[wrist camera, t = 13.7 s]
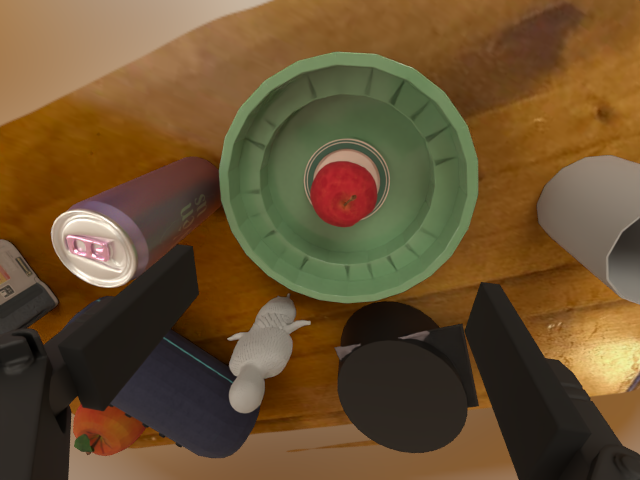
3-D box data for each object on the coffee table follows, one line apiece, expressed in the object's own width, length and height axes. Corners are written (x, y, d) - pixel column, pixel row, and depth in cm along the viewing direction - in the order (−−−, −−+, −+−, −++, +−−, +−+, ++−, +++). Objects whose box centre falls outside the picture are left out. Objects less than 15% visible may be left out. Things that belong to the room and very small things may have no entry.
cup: (552, 256, 32) (622, 322, 23) (523, 187, 30) (589, 232, 21) (652, 216, 30) (775, 275, 21) (629, 136, 27) (758, 164, 18)
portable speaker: (91, 317, 45) (23, 375, 36) (118, 272, 41) (48, 326, 32) (239, 411, 50) (211, 483, 41) (277, 379, 45) (254, 452, 37)
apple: (402, 153, 29) (411, 171, 23) (372, 230, 33) (373, 262, 27) (317, 126, 29) (304, 137, 23) (296, 206, 33) (280, 233, 27)
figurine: (256, 317, 41) (202, 431, 28) (243, 292, 40) (178, 400, 26) (327, 301, 38) (304, 419, 25) (315, 274, 37) (285, 383, 24)
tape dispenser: (363, 404, 47) (365, 460, 40) (321, 311, 39) (316, 362, 32) (469, 389, 44) (490, 447, 37) (446, 284, 36) (468, 335, 29)
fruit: (106, 403, 53) (54, 468, 44) (100, 362, 49) (41, 425, 40) (162, 418, 53) (121, 486, 44) (161, 379, 49) (115, 445, 40)
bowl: (486, 65, 26) (517, 62, 21) (432, 280, 35) (443, 316, 30) (238, 50, 28) (208, 44, 23) (248, 258, 37) (227, 288, 32)
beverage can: (173, 149, 33) (38, 197, 19) (230, 162, 33) (134, 220, 19) (174, 204, 35) (56, 278, 22) (227, 216, 35) (140, 299, 22)
